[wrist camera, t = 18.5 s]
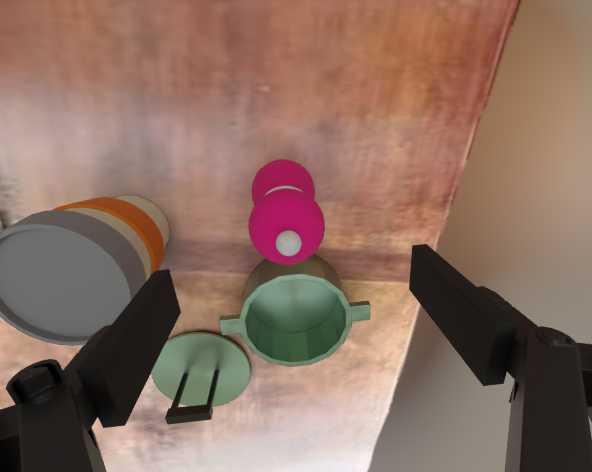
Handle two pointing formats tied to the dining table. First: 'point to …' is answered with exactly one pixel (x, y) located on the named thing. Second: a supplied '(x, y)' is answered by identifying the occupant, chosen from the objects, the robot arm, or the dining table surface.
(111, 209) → the reusable coffee cup
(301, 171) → the pepper mill
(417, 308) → the dining table surface
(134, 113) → the dining table surface
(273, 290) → the pot
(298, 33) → the dining table surface
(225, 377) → the lid
